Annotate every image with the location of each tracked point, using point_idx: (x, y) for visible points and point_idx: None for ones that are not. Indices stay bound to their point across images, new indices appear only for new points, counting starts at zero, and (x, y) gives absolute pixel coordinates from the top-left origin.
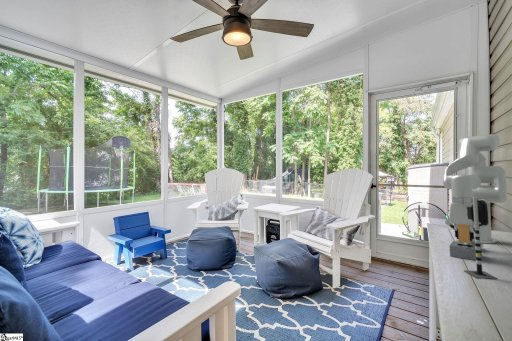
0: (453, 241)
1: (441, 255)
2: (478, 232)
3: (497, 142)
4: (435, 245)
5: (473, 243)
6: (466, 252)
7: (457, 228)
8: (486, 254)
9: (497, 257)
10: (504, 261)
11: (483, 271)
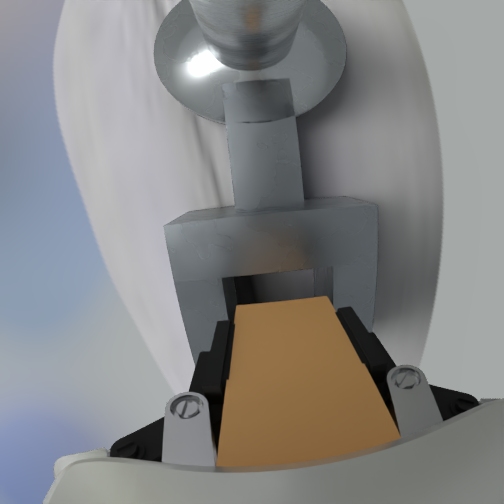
0: (169, 228)
1: (176, 354)
2: None
3: None
4: (73, 139)
5: (289, 51)
6: None
7: (212, 429)
8: (363, 139)
9: (411, 176)
10: (434, 242)
11: None
